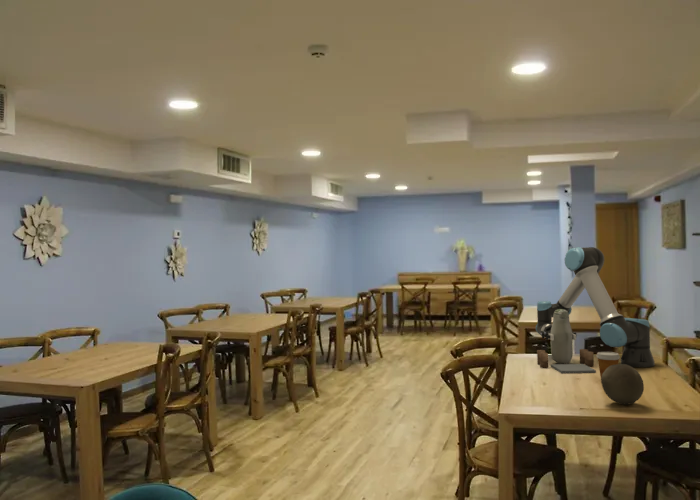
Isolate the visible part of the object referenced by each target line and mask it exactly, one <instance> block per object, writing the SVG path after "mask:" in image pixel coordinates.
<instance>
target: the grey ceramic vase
mask: <svg viewBox="0 0 700 500" xmlns="http://www.w3.org/2000/svg"><path fill="white" fill-rule="evenodd" d="M552 318H553V319H552V328H551V334H552V335H554V341H552V340H550V352H551V358H552V360H553V362H555V364H570V363H571V361H572V358H573V354H574V353H573V352H574V351H573V342H574V340H573V336H572V332H573V329H572V326H571V323H570V315H569V314H568V312H567V311H566V310H564V309H558V310H556V311H555V312H554V315H553V317H552Z"/></svg>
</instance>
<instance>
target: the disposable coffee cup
mask: <svg viewBox="0 0 700 500" xmlns="http://www.w3.org/2000/svg"><path fill="white" fill-rule="evenodd" d="M596 359H597V364H598V370H599V377H600V378H601V377H602V374H603V372H604V371H605V370H606V369H607V368H608V367H609V366H611V365H617V364H619V361H620V359H621V357H620V355H619V353H618V352H613V351H598V352H597V353H596Z"/></svg>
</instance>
